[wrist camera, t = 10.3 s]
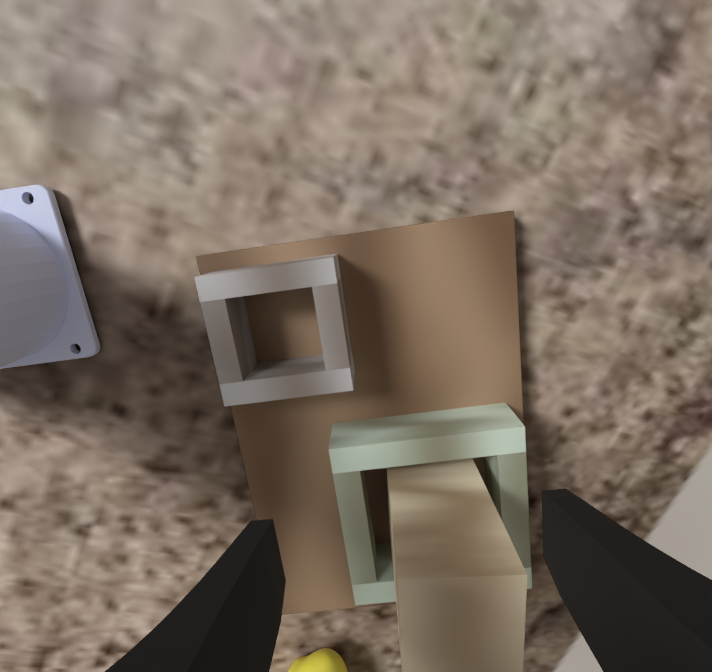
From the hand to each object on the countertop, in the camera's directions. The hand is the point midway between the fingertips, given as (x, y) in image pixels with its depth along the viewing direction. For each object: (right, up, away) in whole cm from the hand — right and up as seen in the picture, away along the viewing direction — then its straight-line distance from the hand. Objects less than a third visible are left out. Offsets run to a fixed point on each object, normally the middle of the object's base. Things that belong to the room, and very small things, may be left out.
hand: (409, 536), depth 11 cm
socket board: (0, 0, +11) cm, 11 cm away
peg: (+2, -2, +10) cm, 11 cm away
